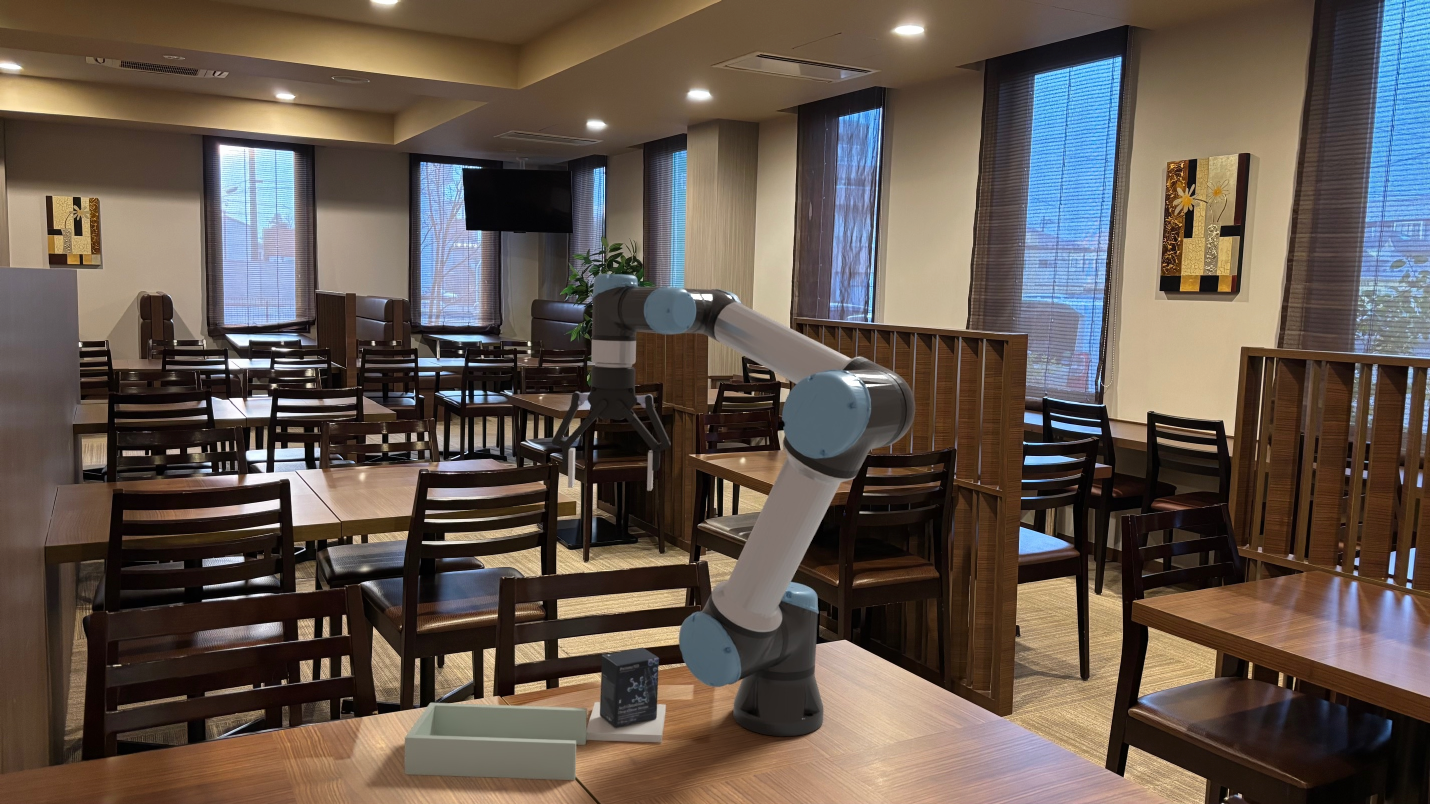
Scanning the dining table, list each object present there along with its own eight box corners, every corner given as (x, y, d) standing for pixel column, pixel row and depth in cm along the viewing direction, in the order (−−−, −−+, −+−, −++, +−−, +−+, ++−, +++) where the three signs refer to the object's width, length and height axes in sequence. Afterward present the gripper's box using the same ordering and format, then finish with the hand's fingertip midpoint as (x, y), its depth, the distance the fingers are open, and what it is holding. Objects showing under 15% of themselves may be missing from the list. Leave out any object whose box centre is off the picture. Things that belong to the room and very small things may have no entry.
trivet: (665, 711, 167) (665, 704, 167) (661, 742, 155) (661, 735, 155) (594, 708, 167) (595, 701, 167) (585, 739, 155) (585, 732, 155)
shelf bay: (586, 741, 155) (587, 708, 154) (574, 780, 142) (575, 743, 142) (430, 736, 155) (430, 702, 154) (404, 774, 142) (404, 737, 142)
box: (615, 729, 157) (616, 664, 156) (599, 716, 161) (600, 653, 160) (658, 719, 161) (659, 656, 160) (641, 707, 166) (642, 645, 165)
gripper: (687, 366, 172) (683, 486, 174) (544, 361, 172) (542, 481, 174) (685, 369, 165) (681, 494, 167) (536, 364, 165) (534, 489, 167)
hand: (610, 488), depth 171 cm, fingers open, 13 cm apart
